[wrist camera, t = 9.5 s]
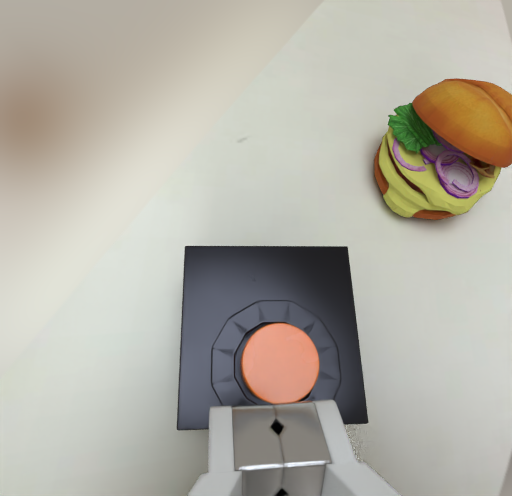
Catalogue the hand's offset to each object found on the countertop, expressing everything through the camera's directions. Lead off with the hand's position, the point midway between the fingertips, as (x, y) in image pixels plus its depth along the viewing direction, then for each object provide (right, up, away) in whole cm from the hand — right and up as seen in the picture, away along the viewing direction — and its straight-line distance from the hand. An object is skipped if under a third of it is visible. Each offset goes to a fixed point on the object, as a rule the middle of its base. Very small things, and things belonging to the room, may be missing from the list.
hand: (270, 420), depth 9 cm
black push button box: (0, -3, +19) cm, 19 cm away
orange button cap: (+1, -2, +10) cm, 10 cm away
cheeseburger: (+15, +11, +25) cm, 31 cm away
